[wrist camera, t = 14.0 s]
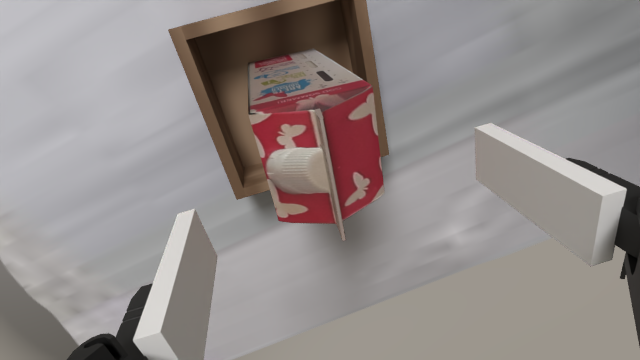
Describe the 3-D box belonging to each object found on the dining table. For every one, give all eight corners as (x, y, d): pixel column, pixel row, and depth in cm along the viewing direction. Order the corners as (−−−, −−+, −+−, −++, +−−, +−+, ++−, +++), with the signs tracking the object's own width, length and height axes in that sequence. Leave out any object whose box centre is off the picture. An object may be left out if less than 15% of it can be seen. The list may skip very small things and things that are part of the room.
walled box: (344, -18, 34) (362, -22, 28) (370, 135, 41) (389, 154, 36) (180, 26, 33) (168, 29, 28) (238, 174, 40) (236, 199, 35)
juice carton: (265, 127, 37) (284, 256, 18) (247, 62, 34) (248, 136, 15) (325, 112, 38) (406, 224, 19) (313, 48, 35) (396, 101, 15)
